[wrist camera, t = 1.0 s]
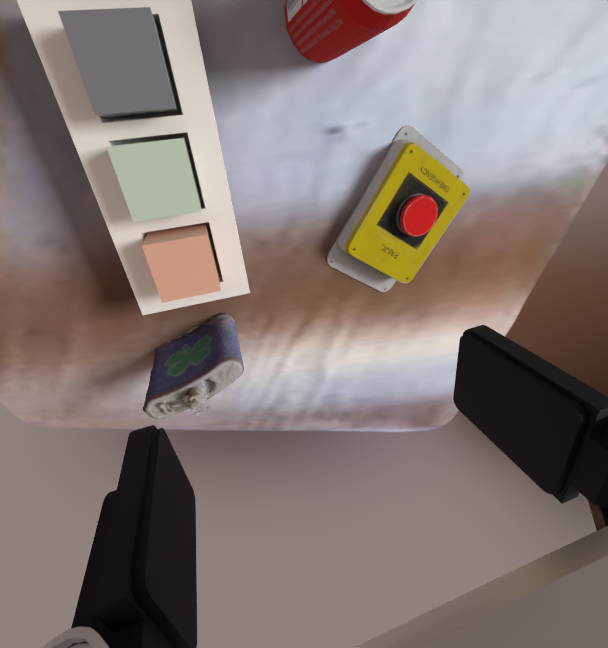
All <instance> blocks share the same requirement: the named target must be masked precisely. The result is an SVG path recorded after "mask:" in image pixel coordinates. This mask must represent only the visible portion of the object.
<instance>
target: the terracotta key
mask: <svg viewBox="0 0 608 648" xmlns="http://www.w3.org/2000/svg"><path fill="white" fill-rule="evenodd" d="M142 248H143V251H144V253H145V256H146V259H147V262H148V265H149V267H150V270H151V273H152V276H153V279H154V281H155V284H156V287H157V290H158V293H159V295H160V298H161V301H162V303H164V302H168V301H173V300H178V299H183V298H188V297H193V296H198V295H203V294H208V293H213V292H218V291H221V288H220V282H219V276H218V271H217V267H216V263H215V259H214V255H213V251H212V247H211V243H210V239H209V235H208V231H207V227H206V223H200V224H194V225H188V226H182V227H175V228H169V229H163V230H157V231H151V232H148V234H147V236H146V238H145V240H144V242H143V244H142Z"/></svg>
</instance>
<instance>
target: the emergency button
mask: <svg viewBox="0 0 608 648" xmlns="http://www.w3.org/2000/svg"><path fill="white" fill-rule="evenodd" d="M462 179H463V172H462V170H461V169H460V168H459V167H458V166H457V165H456V164H454V163H453V162H452V161H451V160H450V159H449V158H448V157H446V156H445V155H444V154H443V153H442V152H441V151H439V150H438V149H437V148H436V147H435V146H434V145H433V144H431V143H430V142H429V141H428V140H427V139H426V138H424V137H423V136H422V135H421V134H420V133H419V132H418V131H416V130H415V129H414V128H413V127H411V126H405V127H403V128H401V130H400V131H399V132H398V133H397V135H396V137H395V138H394V140H393V142H392V144H391V145H390V147H389V149H388V151H387V152H386V154H385V156H384V158H383V159H382V161H381V163H380V165H379V166H378V168H377V170H376V172H375V173H374V175H373V177H372V179H371V180H370V182H369V184H368V185H367V187H366V189H365V191H364V192H363V194H362V196H361V198H360V199H359V201H358V203H357V205H356V206H355V208H354V210H353V212H352V213H351V215H350V217H349V219H348V220H347V222H346V224H345V226H344V227H343V229H342V231H341V233H340V234H339V236H338V238H337V240H336V241H335V243H334V245H333V247H332V248H331V250H330V252H329V254H328V257H327V263H328V264H329V265H330V266H331V267H333V268H335V269H337V270H339V271H341V272H343V273H345V274H347V275H349V276H351V277H352V278H354V279H356V280H358V281H360V282H362V283H364V284H366V285H368V286H370V287H372V288H374V289H376V290H378V291H380V292H386V291H388V290H389V289H390V288H391V287H392V286H393V284H394V283H395V281H396V280H397V281H399V282H401V283H408V282H410V281H411V280H412V279H413V277H414V276H415V274H416V273H417V271H418V270H419V268H420V267H421V265H422V264H423V263H424V261H425V260H426V258H427V257H428V255H429V254H430V252H431V251H432V249H433V248H434V246H435V245H436V243H437V242H438V240H439V239H440V237H441V236H442V235H443V233H444V232H445V230H446V229H447V227H448V226H449V224H450V223H451V221H452V220H453V218H454V217H455V215H456V214H457V212H458V211H459V210H460V208H461V207H462V205H463V204H464V202H465V201H466V199H467V198H468V195H469V188H468V186H467V185H466V184H464V183H463V182H462Z"/></svg>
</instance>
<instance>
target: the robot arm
mask: <svg viewBox="0 0 608 648" xmlns="http://www.w3.org/2000/svg"><path fill="white" fill-rule="evenodd" d="M454 403H455V405H456V407H457V408H458V409H459V410H460V411H461V412H462V413H463V414H464V415H465V416H466V417H467V418H468V419H469V420H470V421H471V422H472V423H473V424H474V425H475V426H477V428H478V429H479V430H481V431H482V432H483V433H484V434H485V435H486V436H487V437H488V438H489V439H490V440H491V441H492V442H493V443H494V444H495V445H496V446H497V447H498V448H499V449H500V450H502V451H503V452H504V453H505V454H506V455H507V456H508V457H509V458H510V459H511V460H512V461H513V462H514V463H515V464H516V465H517V466H518V467H519V468H520V469H521V470H522V471H523V472H524V473H525V474H527V475H528V476H529V477H530V478H531V479H532V480H533V481H534V482H535V483H536V484H537V485H538V486H539V487H540V488H541V489H542V490H544V491H545V492H547V493H549V494H552V495H554V496H555V497H556V498H557V499H558V500H559V501H560V502H561V503H565V502H567V501H569V500H571V499H574V498H576V497H578V495H579V493H581V494H583V495H584V496H585V497H586V498H587V500H588V503H589V507H590V510H591V513H592V516H593V520H594V523H595V527H596V530H597V531H596V532H594V533H592V534H590V535H587V536H585V537H583V538H581V539H579V540H577V541H575V542H573V543H570V544H568V545H566V546H564V547H562V548H560V549H558V550H556V551H553V552H551V553H549V554H547V555H545V556H543V557H541V558H539V559H537V560H534V561H533V562H530V563H528V564H526V565H524V566H522V567H520V568H518V569H516V570H514V571H511V572H509V573H507V574H505V575H503V576H501V577H499V578H497V579H495V580H493V581H491V582H489V583H486V584H484V585H482V586H480V587H478V588H476V589H474V590H472V591H470V592H468V593H466V594H464V595H461V596H459V597H457V598H455V599H453V600H451V601H449V602H447V603H445V604H443V605H441V606H439V607H436V608H434V609H432V610H430V611H428V612H426V613H424V614H422V615H420V616H418V617H416V618H414V619H412V620H410V621H408V622H405V623H404V624H401V625H399V626H398V627H395V628H393V629H391V630H389V631H387V632H385V633H383V634H381V635H379V636H377V637H375V638H373V639H371V640H368V641H367V642H364V643H362V644H360V645H358V646H356V647H355V648H608V397H607V396H606V395H604V394H602V393H600V392H599V391H597V390H595V389H594V388H592V387H590V386H588V385H587V384H585V383H583V382H582V381H580V380H578V379H576V378H575V377H573V376H571V375H570V374H568V373H566V372H564V371H563V370H561V369H559V368H557V367H556V366H554V365H552V364H551V363H549V362H547V361H546V360H544V359H542V358H540V357H539V356H537V355H535V354H534V353H532V352H530V351H528V350H527V349H525V348H523V347H521V346H520V345H518V344H516V343H515V342H513V341H511V340H510V339H508V338H506V337H505V336H503V335H501V334H499V333H498V332H496V331H494V330H493V329H491V328H489V327H487V326H485V325H481V326H477V327H474V328H471V329H468V330H465V332H464V333H463V336H462V337H461V338H460V343H459V352H458V361H457V370H456V380H455V389H454ZM196 646H197V592H196V510H195V495H194V491H193V488H192V486H191V484H190V482H189V480H188V478H187V476H186V474H185V472H184V470H183V468H182V466H181V463H180V461H179V459H178V457H177V455H176V453H175V451H174V449H173V447H172V445H171V443H170V440H169V438H168V436H167V434H166V432H165V430H164V429H163V428H160V429H156V427H155V426H154V425H152V426H148V427H145V428H142V429H138V430H135V431H132V432H131V433H130V434H129V437H128V442H127V446H126V451H125V455H124V460H123V465H122V469H121V474H120V478H119V482H118V487H117V490H115V491H113V492H110V493H108V494H107V495H106V497H105V499H104V502H103V505H102V509H101V513H100V517H99V521H98V525H97V529H96V533H95V537H94V541H93V544H92V548H91V552H90V556H89V560H88V564H87V568H86V572H85V576H84V580H83V584H82V589H81V592H80V596H79V600H78V604H77V608H76V612H75V616H74V620H73V624H72V628H71V629H69V630H66V631H64V632H63V633H61V634H60V635H58V636H56V637H55V638H53V639H52V640H50V641H49V642H48V643H47V644H46V645H45V646H44V647H43V648H196Z"/></svg>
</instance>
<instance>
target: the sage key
mask: <svg viewBox="0 0 608 648" xmlns="http://www.w3.org/2000/svg"><path fill="white" fill-rule="evenodd" d="M107 150H108V153H109V155H110V158H111V161H112V164H113V167H114V169H115V172H116V175H117V178H118V181H119V183H120V186H121V189H122V192H123V195H124V197H125V200H126V203H127V206H128V209H129V211H130V214H131V217H132V220H133V222H136V221H143V220H149V219H156V218H162V217H168V216H175V215H181V214H187V213H194V212H200V211H201V203H200V198H199V194H198V190H197V186H196V182H195V178H194V174H193V170H192V166H191V162H190V158H189V154H188V150H187V146H186V142H185V138H178V139H169V140H160V141H152V142H143V143H134V144H125V145H117V146H108V147H107Z"/></svg>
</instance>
